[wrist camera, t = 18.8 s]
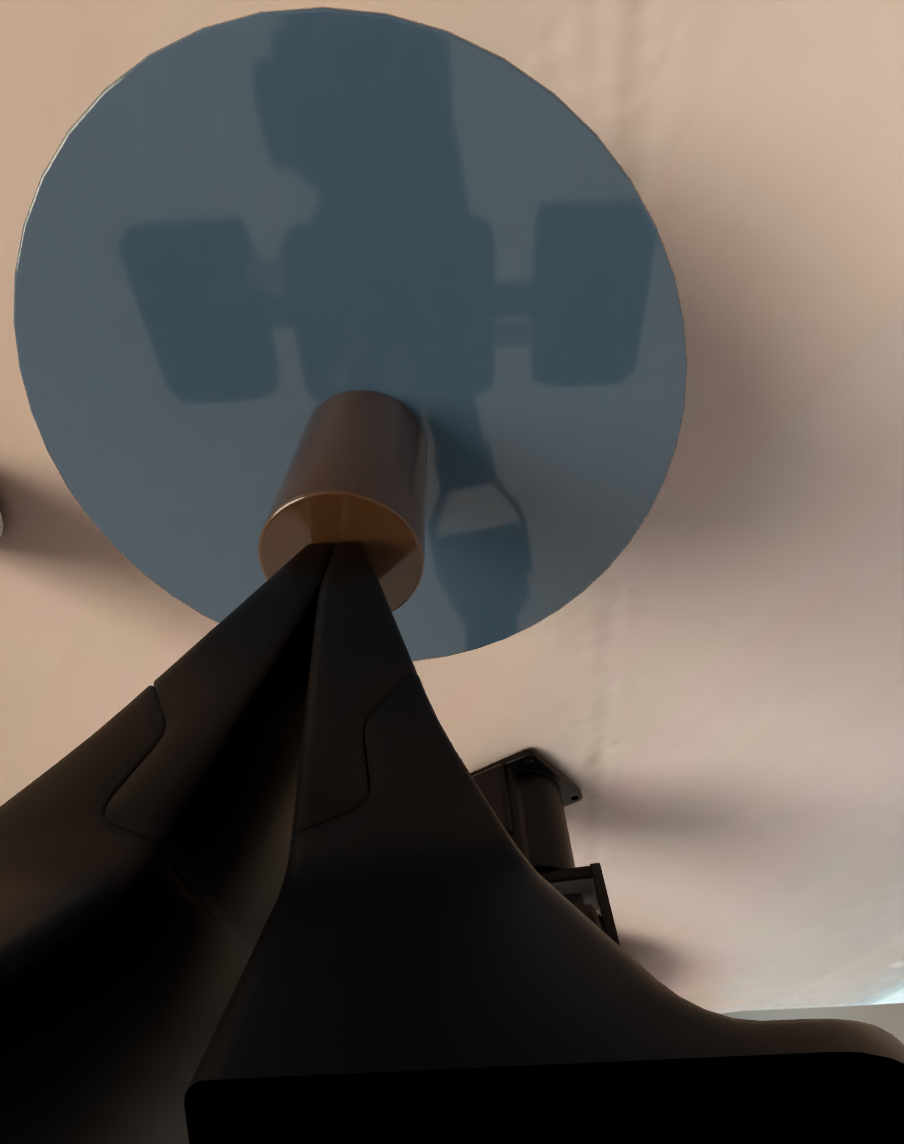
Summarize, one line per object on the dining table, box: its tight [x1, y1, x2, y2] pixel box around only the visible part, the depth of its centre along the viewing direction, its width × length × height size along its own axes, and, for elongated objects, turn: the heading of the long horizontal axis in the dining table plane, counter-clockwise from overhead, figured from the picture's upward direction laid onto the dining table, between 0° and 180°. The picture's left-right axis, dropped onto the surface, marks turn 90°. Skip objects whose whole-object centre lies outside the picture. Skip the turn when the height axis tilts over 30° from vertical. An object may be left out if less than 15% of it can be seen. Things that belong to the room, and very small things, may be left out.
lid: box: [14, 7, 687, 661], centre depth 11 cm, size 13×13×5 cm
